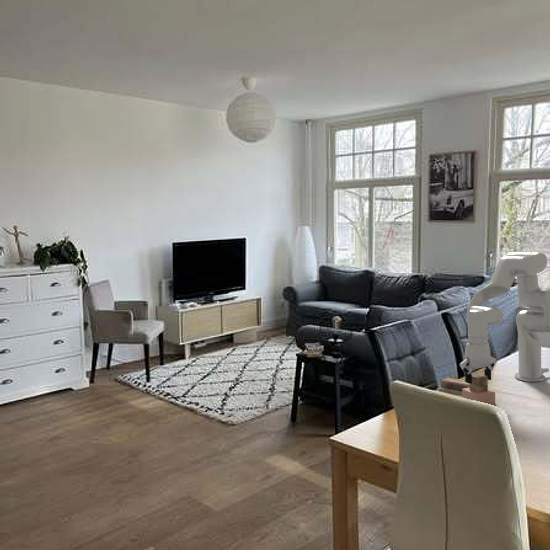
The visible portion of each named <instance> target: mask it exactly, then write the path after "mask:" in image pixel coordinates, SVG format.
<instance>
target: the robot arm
mask: <svg viewBox="0 0 550 550" xmlns="http://www.w3.org/2000/svg"><path fill="white" fill-rule="evenodd" d="M547 265H548V257H547V256H546V254H545V253H543V252H541V251H512V252H508V253H507V254H506V255H505V256H503V257H500V259H499V260H498V262H497V265H496V267H495V269H494V271H493V273H492V276H491V278H490V281H489V283H488V284H487V285H485V286H483V287H482V288H480V289H479V290H478V291H477V292H475V294H474V295H473V296H472V298H471V299H470V302H469V304H468V305H467V309H466V314H465V315H466V316H465V317H466V319H467V343H465V348H464V357H463V358H464V360H463V361H461V362H460V363H459V366H460V368H461V370H462V371H463V373H464V381H465V382H467V383H469V384H471V383H472V375H473V374H472V371H473V370H475V369H477V370H478V369H481V368H484V371H483V372H484V375H485V376H488V381H491V380H492V371H493V368H494V367H495V365H496V364H495V363H496V361H497V358H495V357H494V356H492V355H491V348H490V343H489V338H490V336H489V331H488V330H489V329H488V327H492V326H498V325H500V324H501V323H502V322H503V319H504V312H503V311H502V310H501V309H500V308H498V307H495V306H487V305H486V306H485V305H484V304H485V303H486V302H488V301H490V300H492V299H495V298H498V297H502V296H504V295H507V294H508V293H509V292H510V291H511V288H512V286H513V283H514V281H515V279H516V281H517V296H518V304H519V305H520V306H521V307H523V308H526V309H524V310H520V311H518V312H517V314H516V316H515V323H516V330H517V335H518V336H517V338H518V372H517V373H515V374H514V378H515V379H517V380H520V381H523V382H529V383H530V382H531V383H537V382H543V381H545V380H546V376H545V375H544V373H549V372H550V369H549V368H548V367H545V368H543V367H542V339H541V337H540V335H539V334H538V333H543V334H550V287H540V286H539V277H538V274H539V273H541V272H543V271H544V270H545V269H546V268H547ZM532 309H537V310H532Z"/></svg>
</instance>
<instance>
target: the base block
mask: <svg viewBox="0 0 550 550" xmlns="http://www.w3.org/2000/svg"><path fill="white" fill-rule="evenodd" d="M462 397H464V398H467V399H471V400H476V401H480V402H484V403H488V404H491V405H495V404H496V391H495V390H492V389H490V388H488V391H485V392H480V393H477V392H475V391H472V390H470V389H469V388H464V389H462V395H461V398H462Z"/></svg>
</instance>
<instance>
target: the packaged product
mask: <svg viewBox="0 0 550 550" xmlns="http://www.w3.org/2000/svg"><path fill="white" fill-rule="evenodd" d="M464 388H469V383H467V382H465V380H463V379H456V378H452V377H446V378H443V379H442V380H441V381H440V387H438V391H440V392H441V391H442V392H445V393H450V394H455V395H461V396H462V389H464Z"/></svg>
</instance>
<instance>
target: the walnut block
mask: <svg viewBox="0 0 550 550" xmlns="http://www.w3.org/2000/svg"><path fill="white" fill-rule="evenodd" d="M488 386H489V380H488V376H485V374H482V373H475V374H474V373H473V374H472V383H471V384H469V389H470V390H472V391H475V392H477V393H480V392H485V391H488V389H489V387H488Z"/></svg>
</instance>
